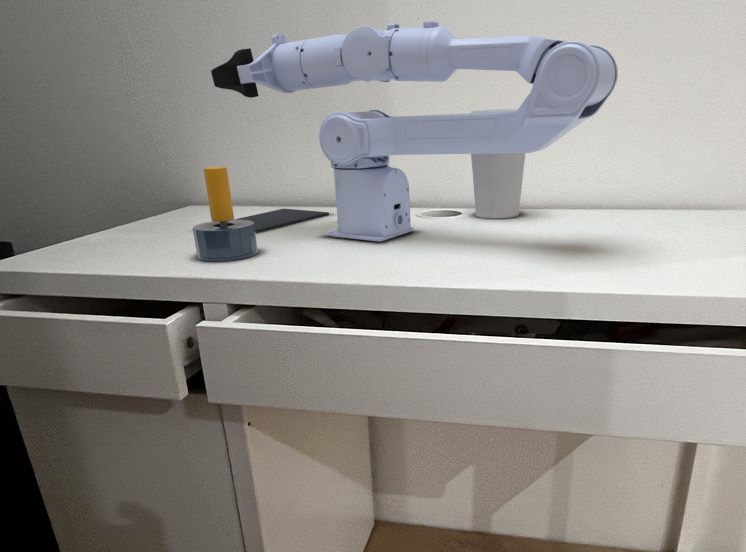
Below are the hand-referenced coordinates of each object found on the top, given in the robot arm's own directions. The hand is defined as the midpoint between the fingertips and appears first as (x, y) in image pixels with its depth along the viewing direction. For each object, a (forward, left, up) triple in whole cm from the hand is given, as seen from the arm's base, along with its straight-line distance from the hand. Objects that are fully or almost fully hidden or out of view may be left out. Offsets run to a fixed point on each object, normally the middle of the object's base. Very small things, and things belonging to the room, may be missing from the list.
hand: (234, 75), depth 85 cm
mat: (0, -3, -21) cm, 21 cm away
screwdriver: (-12, +15, -20) cm, 28 cm away
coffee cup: (-30, -22, -21) cm, 42 cm away
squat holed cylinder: (-12, +15, -21) cm, 28 cm away
